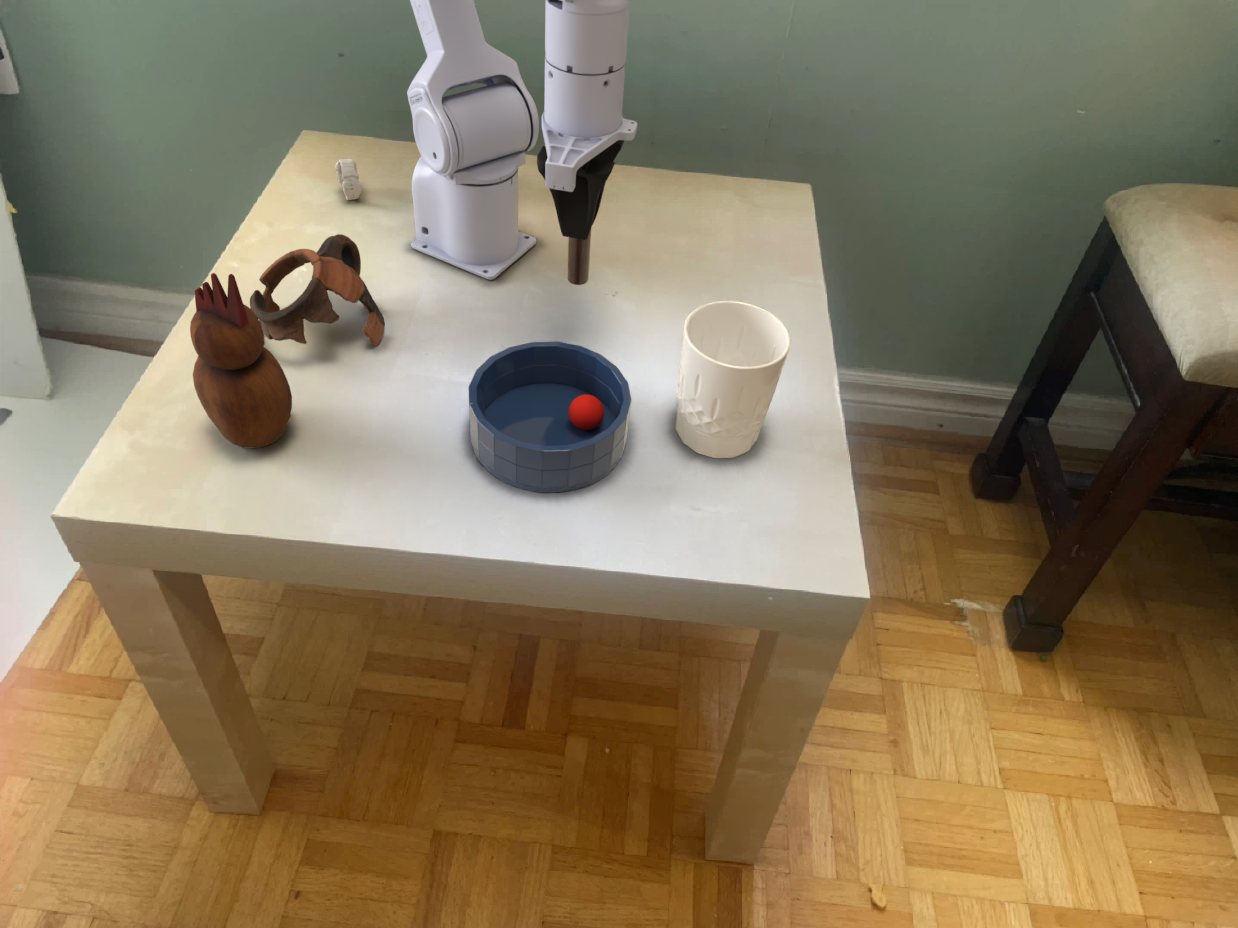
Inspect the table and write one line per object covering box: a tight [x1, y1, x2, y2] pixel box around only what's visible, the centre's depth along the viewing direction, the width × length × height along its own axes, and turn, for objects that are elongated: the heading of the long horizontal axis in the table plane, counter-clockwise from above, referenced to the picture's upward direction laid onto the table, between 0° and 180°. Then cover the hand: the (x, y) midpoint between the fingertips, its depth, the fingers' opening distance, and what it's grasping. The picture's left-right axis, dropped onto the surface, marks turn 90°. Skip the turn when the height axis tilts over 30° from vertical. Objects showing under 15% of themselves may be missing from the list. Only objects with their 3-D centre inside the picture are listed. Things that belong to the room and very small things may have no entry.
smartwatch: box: [334, 158, 362, 201], centre depth 92 cm, size 4×2×4 cm, turn 20°
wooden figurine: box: [189, 272, 293, 449], centre depth 65 cm, size 7×6×15 cm
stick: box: [566, 229, 592, 286], centre depth 74 cm, size 2×2×10 cm
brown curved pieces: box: [249, 233, 386, 347], centre depth 78 cm, size 12×10×8 cm
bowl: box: [468, 340, 632, 493], centre depth 71 cm, size 12×12×4 cm
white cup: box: [675, 300, 792, 459], centre depth 71 cm, size 8×8×10 cm
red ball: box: [569, 395, 604, 430], centre depth 72 cm, size 3×3×3 cm
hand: (578, 228), depth 74 cm, fingers closed on stick, 2 cm apart
